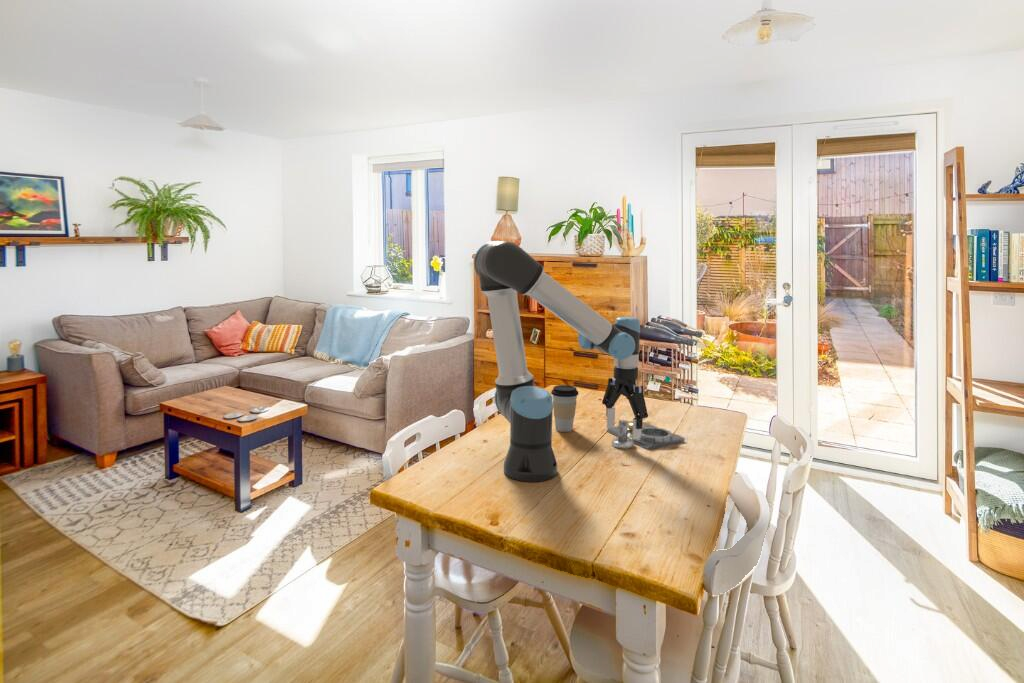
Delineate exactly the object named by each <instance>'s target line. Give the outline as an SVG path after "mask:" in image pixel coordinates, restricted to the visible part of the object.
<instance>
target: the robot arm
mask: <svg viewBox="0 0 1024 683" xmlns="http://www.w3.org/2000/svg"><path fill="white" fill-rule="evenodd" d="M473 268H474V270H475V273H476V275H477V276H478V278H479V285H480V292H481V293H483V294H484V295H485V296H486V298H487V305H488V310H489V316H490V317H489V318H490V323H491V330H492V337H493V344H494V350H495V357H496V363H497V364H496V365H497V370H498V376H497V377H496V378H495V379H494V384H495V393H494V403H495V406H496V409H497V411H498V412H499V414H501V415H502V417H503V418H505V419H506V421H508V422H509V425H510V430H509V432H510V434H509V435H510V436H509V438H510V439H509V447H508V451H507V454H506V456H505V460H504V461H503V473H504V475H506V476H507V478H510V479H513V480H515V481H520V482H526V483H527V482H528V483H532V482H533V483H536V482H544V481H548V480H550V479H553V478H554V477H555V476H557V473H558V463H557V460H556V456H555V453H554V450H553V447H552V446H553V445H552V439H553V438H552V436H553V433H552V432H553V412H554V409H553V395H552V394H551V392H550V391H548V390H547V389H545V388H543V387H539V386H536V385H535V378H534V374H532V373H531V372H530V371H529V370H528V366H527V357H526V351H525V343H524V342H525V341H524V336H523V330H522V322H521V314H520V307H519V302H518V301H519V300H518V294H519V295H521V296H528V297H530V298H531V299H532V300H534V301H535V302H536V303H537V304H540V305H541V306H542V307H543V308H545V309H546V310H548V311H549V312H550V313H552V314H553V315H554V316H556V317H558V318H559V320H561V321H563V322H564V323H566V324H567V325H568V326H570V327H571V328H572V329H573V330H575V331H576V332H577V341H578V342H577V343H578V344H579V345H578V346H579V347H580V348H581V349H582V350H583V351H585V350H589V351H591V350H595V351H598V352H601V353H604V354H605V355H608V356H610V357H612V358H614V359H613V365H614V366H613V377H609V378H608V380H607V386H606V390H605V392H604V395H603V399H602V401H601V404H602V405H604V406H605V408H606V410H605V411H606V413H605V415H606V428H611V427H615V424H616V422H615V419H616V407H615V404H616V403H617V401H619V399H620V397H621V395H622V396H623V397H625V398H626V399H627V400H628V402H629V405H630V407H631V411H632V412H633V413H632V414H633V415H634V418H632V421H633V434H632V439H637V438H641V429H642V422H644V421H643V419H647V418H648V417H649V413H648V409H647V404H646V401H645V395H644V386H643V385H637V384H636V381H637V380H638V377H639V368H638V366H639V358H640V357H639V354H640V342H641V341H640V338H641V336H640V335H641V321H640V319H639V318H637V317H632V316H619V317H617V318H616V319H615V322H614V323H611V322H610V321H608V319H606V318H605V317H604V316H602V315H601V314H600V313H599V312H597V311H596V310H594V308H592V307H590V306H589V305H588V304H587V303H586V302H584V301H582V300H581V299H580V297H577V295H575V294H574V293H572V292H571V291H570V290H569V289H567V288H566V287H564V286H563V284H560V282H558V281H557V280H555V279H554V278H552V276H550V275H549V274H548V273H546V272H545V267H544V266H543V265H542V263H539V262H538V261H537V260H536V259H535V258H534V257H532V256H531V255H530V254H529V253H528V252H527V251H525V249H523V248H522V247H520V246H519V245H518V244H516V243H514V242H512V241H507V240H492V241H488V242H486V243H484V244H483V245H481V246H480V247H479V248H478V249H477V251H476V253H475V255H474V258H473Z"/></svg>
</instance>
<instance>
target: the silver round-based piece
mask: <svg viewBox="0 0 1024 683" xmlns="http://www.w3.org/2000/svg"><path fill="white" fill-rule="evenodd" d="M628 422H629V420H627V419H626V420H624V419H620V420H618V426H619V428H618V436H617V437H614V438H612V439H611V443H610V444H611V447H613V448H616V449H619V450H630V449H632V448H634V446H635V444H634V441H633V440H631V439H629V438H628Z"/></svg>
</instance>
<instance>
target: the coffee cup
mask: <svg viewBox="0 0 1024 683" xmlns="http://www.w3.org/2000/svg"><path fill="white" fill-rule="evenodd" d="M552 388H553V389H552V390H551V392H550V394H551V396H552V402H553V416H554V426H555V430H556V431H557V432H561V433H570V432H572V431H573V429H574V428H573V427H574V423H575V422H574V420H575V416H576V408H577V398H578V395H579V390H578V389H577V387H576V386H574V385H568V384H559V385H555V386H553V387H552Z"/></svg>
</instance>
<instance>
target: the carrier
mask: <svg viewBox="0 0 1024 683" xmlns="http://www.w3.org/2000/svg"><path fill="white" fill-rule="evenodd" d="M606 428H607V427H606ZM618 428H619V425H618V426H617V425H616V426H614V427H611V428H607V432H608V433H610V434H611V435H614V436H617V437H618ZM632 434H633V420H631V421H629V420H628V438H629V439H631V440H633V441H634V445H637V446H639V447H641V448H643V449H645V450H653V449H658V448H661V447H666V446H671V445H674V444H678V443H683V441H684V442H685V437H683V436H681V435H678V434H676V433H673V432H672V431H670V430H669V429H665V428H661V427H657V426H654V425H652V424H649V423H647V422H645V421H642V429H641V438H637V439H632Z"/></svg>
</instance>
